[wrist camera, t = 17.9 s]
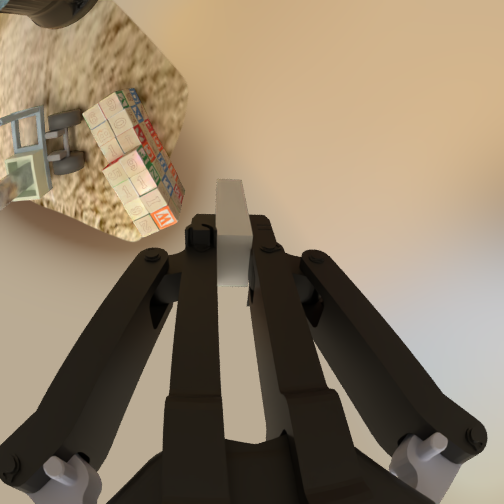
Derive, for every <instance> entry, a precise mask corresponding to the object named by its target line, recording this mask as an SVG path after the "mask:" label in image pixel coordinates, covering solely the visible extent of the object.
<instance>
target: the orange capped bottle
mask: <svg viewBox="0 0 504 504" xmlns="http://www.w3.org/2000/svg"><path fill="white" fill-rule="evenodd" d="M33 184H34V180H33V174H32V168H31V162H27V163H25V164H24V165H22V166H21V167H19V168H17V169H16V170H14V171H13V172H11V173H10V174H8V175H7V176H5V177H4V178H2V179H1V180H0V210H2V209H3V208H4V207H5V206H6V205H8V204H9V203H10V202H11V201H12V200H14V199H15V198H16V197H17V196H18V195H20V194H21V193H22V192H23V191H25V190H26V189H27V188H29V187H30V186H31V185H33Z"/></svg>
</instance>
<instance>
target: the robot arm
mask: <svg viewBox="0 0 504 504" xmlns="http://www.w3.org/2000/svg"><path fill="white" fill-rule="evenodd" d="M96 2H97V0H0V13H9V14H18V15H27V16H28V17H29V18H31V19H32V21H33V22H34V23H35V24H36V25H38V26H40V27H43V28H49V29H58V28H63V27H66V26H68V25H70V24H72V23H74V22H76V21H77V20H79V19H80V18H81V17H83V16H84V15H85V14H86V13H87V12H88V11H89V10H90V9H91V8H92V7H93V6H94V4H95V3H96ZM185 245H186V247H185V250H183V251H182V252H180V253H177V254H173V255H168V253H167V252H166V251H165V250H164V249H161V248H148V249H145V250H143V251H141V252H140V253H139V254H138V255H137V256H136V258H135V259H134V260H133V262H132V263H131V264H130V266H129V267H128V268H127V270H126V271H125V272H124V274H123V275H122V276H121V278H120V279H119V280H118V282H117V283H116V285H115V286H114V287H113V289H112V290H111V291H110V293H109V294H108V296H107V297H106V298H105V300H104V301H103V303H102V304H101V306H100V307H99V308H98V310H97V311H96V313H95V314H94V316H93V317H92V319H91V321H90V322H89V323H88V325H87V326H86V328H85V329H84V331H83V333H82V334H81V335H80V337H79V339H78V340H77V342H76V343H75V345H74V346H73V348H72V350H71V351H70V353H69V355H68V356H67V358H66V359H65V361H64V363H63V364H62V366H61V368H60V369H59V371H58V373H57V375H56V376H55V378H54V380H53V381H52V383H51V385H50V387H49V388H48V390H47V392H46V394H45V396H44V397H43V399H42V401H41V403H40V405H39V407H38V409H37V411H36V412H35V413H34V414H32V415H31V416H30V417H29V418H28V419H27V420H26V421H25V422H24V423H23V424H22V425H21V426H20V427H19V428H18V429H17V430H16V431H15V432H14V433H13V434H12V435H11V436H9V437H8V438H7V439H6V440H5V441H4V442H3V443H2V444H1V445H0V479H1V480H2V481H3V482H4V483H5V484H7V485H9V486H11V487H13V488H16V489H18V490H20V491H23V492H24V493H26V494H27V495H29V497H30V498H31V499H32V500H33V502H35V504H97V499H98V497H99V495H100V493H101V490H102V482H101V479H100V476H99V474H98V473H97V471H98V470H99V468H100V467H101V465H102V464H103V462H104V460H105V459H106V457H107V455H108V453H109V450H110V448H111V446H112V444H113V441H114V438H115V436H116V433H117V431H118V428H119V426H120V423H121V421H122V418H123V416H124V413H125V411H126V409H127V407H128V404H129V402H130V399H131V397H132V395H133V392H134V390H135V388H136V385H137V383H138V381H139V379H140V376H141V374H142V372H143V369H144V367H145V365H146V363H147V360H148V358H149V356H150V354H151V352H152V349H153V347H154V345H155V343H156V340H157V338H158V336H159V334H160V332H161V330H162V328H163V325H164V323H165V321H166V319H167V317H168V315H169V313H170V311H171V309H172V307H173V302H176V301H178V305H177V314H176V324H175V332H174V343H173V353H172V364H171V377H170V390H169V396H167V397H166V401H165V409H164V426H163V451H162V452H160V453H158V454H156V455H155V456H154V457H153V458H151V459H150V460H149V461H148V462H147V463H146V464H145V465H144V466H143V467H142V468H141V469H140V470H139V471H138V472H137V473H136V474H135V475H134V477H132V479H130V480H129V481H128V482H127V484H125V485H124V486H123V487H122V488H121V489H120V490H119V491H118V492H117V493H116V495H114V496H113V497H112V498H111V499H110V500H109V501H108V502H107V503H106V504H439V503H440V502H441V500H442V498H443V497H444V495H445V494H446V492H447V490H448V489H449V487H450V485H451V483H452V482H453V480H454V478H455V476H456V474H457V473H458V471H459V469H460V467H461V465H462V464H463V463H464V462H466V461H467V460H469V459H471V458H473V457H474V456H476V455H477V454H479V453H481V452H482V451H483V450H484V448H485V446H486V443H487V432H486V429H485V427H484V426H483V424H482V423H481V422H480V421H478V420H477V419H476V418H475V417H473V416H472V415H470V414H469V413H468V412H467V411H465V410H464V409H463V408H461V407H460V406H458V405H457V404H456V403H454V402H453V401H452V400H451V399H449V398H448V397H447V396H445V395H444V394H443V393H442V392H441V390H440V389H439V388H438V386H437V385H436V384H435V382H434V381H433V380H432V378H431V377H430V376H429V374H428V373H427V372H426V371H425V369H424V368H423V367H422V365H421V364H420V363H419V362H418V360H417V359H416V358H415V357H414V355H413V354H412V353H411V351H410V350H409V349H408V348H407V346H406V345H405V344H404V343H403V341H402V340H401V339H400V338H399V336H398V335H397V334H396V333H395V332H394V330H393V329H392V328H391V327H390V325H389V324H388V323H387V322H386V321H385V319H384V318H383V317H382V316H381V315H380V313H379V312H378V311H377V310H376V309H375V308H374V306H373V305H372V304H371V303H370V302H369V301H368V300H367V298H366V297H365V296H364V295H363V294H362V293H361V291H360V290H359V289H358V288H357V287H356V286H355V284H354V283H353V282H352V281H351V280H350V279H349V278H348V276H347V275H346V274H345V273H344V272H343V271H342V270H341V269H340V268H339V266H338V265H337V264H336V263H335V262H334V261H333V260H332V259H331V258H330V256H328V255H327V254H326V253H324V252H322V251H319V250H306V251H305V252H303V253H302V257H298V256H293V255H290V254H287V253H285V251H284V249H283V247H282V246H281V245H280V244H279V243H277V242H276V239H275V236H274V233H273V230H272V227H271V223H270V220H269V219H268V218H267V217H266V216H265V215H249V214H248V209H247V204H246V199H245V194H244V190H243V184H242V180H232V179H217V187H216V214H196V215H195V216H194V218H192V223H191V224H190V225H189V226H187V227H186V229H185ZM248 280H249V291H248V301H247V306H249V305H250V311H251V319H252V327H253V334H254V341H255V348H256V356H257V363H258V371H259V378H260V385H261V392H262V399H263V406H264V413H265V420H266V429H267V430H266V441H265V442H262V443H259V444H250V443H244V442H238V441H233V440H228V439H225V437H224V423H223V408H222V397H221V381H220V359H219V334H218V296H217V286H221V287H229V286H230V287H247V286H248ZM313 340H314V341H313ZM314 342H315V343H316V345H317V346H318V348H319V350H320V351H321V353H322V354H323V356H324V358H325V359H326V361H327V362H328V364H329V366H330V367H331V369H332V370H333V372H334V374H335V375H336V377H337V379H338V380H339V382H340V383H341V385H342V387H343V388H344V389H345V391H346V393H347V395H348V396H349V398H350V400H351V401H352V403H353V404H354V406H355V408H356V409H357V411H358V412H359V414H360V416H361V417H362V419H363V421H364V422H365V424H366V425H367V427H368V429H369V430H370V432H371V434H372V435H373V436H374V438H375V439H376V441H377V442H378V444H379V445H380V446H381V447H382V448H383V449H384V450H385V451H386V452H387V454H389V455H390V456H391V457H392V460H391V464H390V465H389V470H390V472H389V471H387V470H386V469H384V468H383V467H382V466H380V465H379V464H377V463H376V462H374V461H373V460H372V459H371V458H369V457H368V456H366V455H365V454H364V453H362V452H361V451H360V450H358V449H357V448H356V447H354V444H353V441H352V437H351V434H350V431H349V427H348V424H347V420H346V417H345V413H344V410H343V407H342V403H341V400H340V398H339V395H338V393H337V392H336V391H335V390H334V389H329V388H328V387H327V384H326V381H325V378H324V375H323V371H322V368H321V364H320V361H319V358H318V354H317V351H316V348H315V345H314ZM396 476H398V478H397V477H396Z"/></svg>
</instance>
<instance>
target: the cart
mask: <svg viewBox="0 0 504 504" xmlns="http://www.w3.org/2000/svg"><path fill="white" fill-rule="evenodd" d="M34 115H36V122H37V134H38V144H34V145H29V146H24V147H21V143H20V133H19V122H18V120H19V119H22V118H26V117H30V116H34ZM9 122H11V127H12V137H13V146H14V154H17V153H22V152H28V151H33V150H39V149H43V156H44V163H45V170H46V176H47V182H48V188H49V191H50V190H51V189H52V188H53V187H52V182H51V176H50V169H49V161H52V162H53V169H54V174H56V175H64V174H69V173H73V172H76V171H78V170H80V169H82V168H83V167H84V157H83V152H81V151H76V152H70V149H69V139H68V127H71V126H74V125H77V124H80V123H81V113H80V109H76V110H70V111H65V112H60V113H57V114H53V115H50V116H48V123H49V130H51V131H48V132H46V133H45V124H44V107H43V105H41V106H37V107H33V108H29V109H25V110H22V111H18V112H15V113H12V114H11V115H8V116H5V117H2V118H0V126H1V125H4V124H7V123H9ZM61 135H63V143H64V150H58V151H54V152H52V153H50V154H49V155H47V146H46V139H50V138H56V137H59V136H61Z"/></svg>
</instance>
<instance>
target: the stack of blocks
mask: <svg viewBox="0 0 504 504" xmlns="http://www.w3.org/2000/svg"><path fill="white" fill-rule="evenodd" d="M83 117H84V119H85V121H86V122H87V124H88V126H89V128H90V129H91V133H92V134H93V136H94V138H95V140H96V142H97V144H98V146H99V147H100V150H101V151H102V153H103V155H104V156H105V158H106V160H107V161H108V163H109V164H108V165H107V166H106V167H105V168H104V169H103V170H102V172H103V173H104V175H105V177H106V178H107V180H108V182H109V183H110V185H111V187H112V188H113V189H114V191H115V193H116V194H117V196H118V197H119V199H120V201H121V202H122V204H123V206H124V208H125V210H126V211H127V213H128V215H129V216H130V218H131V219H132V221H133V223H134V225H135V226H136V228H137V229H138V231H139V232H140V234H141V236H142V237H145V236H148V235H150V234H152V233H155V232H157V231H159V229H164V228H166V227H168V226H171V225H173V224H175V223H177V222H178V218H179V213H180V210H181V206H182V205H181V204H182V200H183V197H184V193H185V190H184V188H183V186H182V184H181V182H180V180H179V178H178V175H177V173H176V171H175V169H174V167H173V165H172V163H171V161H170V159H169V157H168V155H167V153H166V151H165V149H164V148H163V147H162V144H161V143H160V141H159V139H158V137H157V134H156V133H155V131H154V129H153V127H152V125H151V123H150V121H149V119H148V116H147V113H146V111H145V109H144V107H143V105H142V103H141V102H140V99H139V97H138V95H137V93H136V91H135V89H134V88H131V89H124V90H121V91H116V92H114V93H112V94H111V95H109V96H107V97H106V98H104V99H103V100H101V101H100V102H98V103H97V104H96V105H94V106H93V107H91V108H90V109H88V110H87V111H85V112H84V113H83Z"/></svg>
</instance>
